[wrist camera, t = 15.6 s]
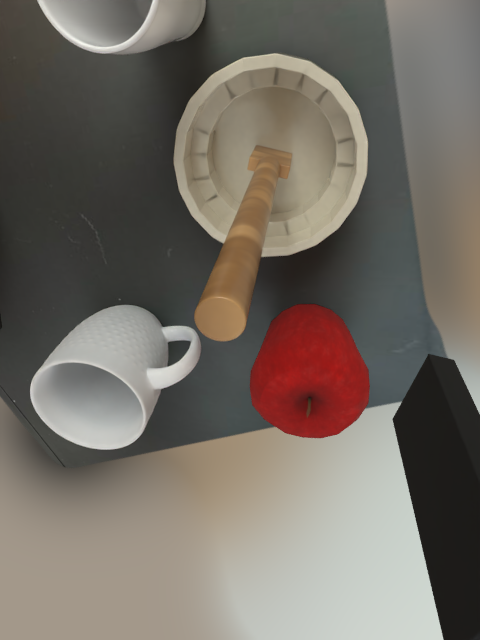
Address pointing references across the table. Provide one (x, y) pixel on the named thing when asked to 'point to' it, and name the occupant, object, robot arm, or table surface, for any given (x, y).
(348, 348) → the apple
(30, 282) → the table surface
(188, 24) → the white cylinder cup
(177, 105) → the table surface
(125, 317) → the mug
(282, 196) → the bowl
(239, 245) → the wooden rod
